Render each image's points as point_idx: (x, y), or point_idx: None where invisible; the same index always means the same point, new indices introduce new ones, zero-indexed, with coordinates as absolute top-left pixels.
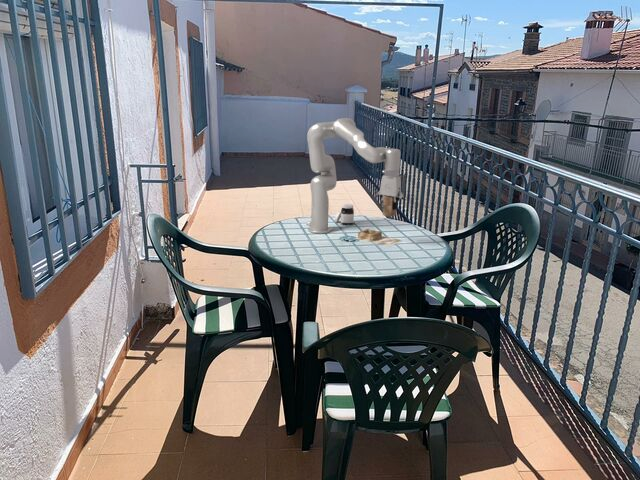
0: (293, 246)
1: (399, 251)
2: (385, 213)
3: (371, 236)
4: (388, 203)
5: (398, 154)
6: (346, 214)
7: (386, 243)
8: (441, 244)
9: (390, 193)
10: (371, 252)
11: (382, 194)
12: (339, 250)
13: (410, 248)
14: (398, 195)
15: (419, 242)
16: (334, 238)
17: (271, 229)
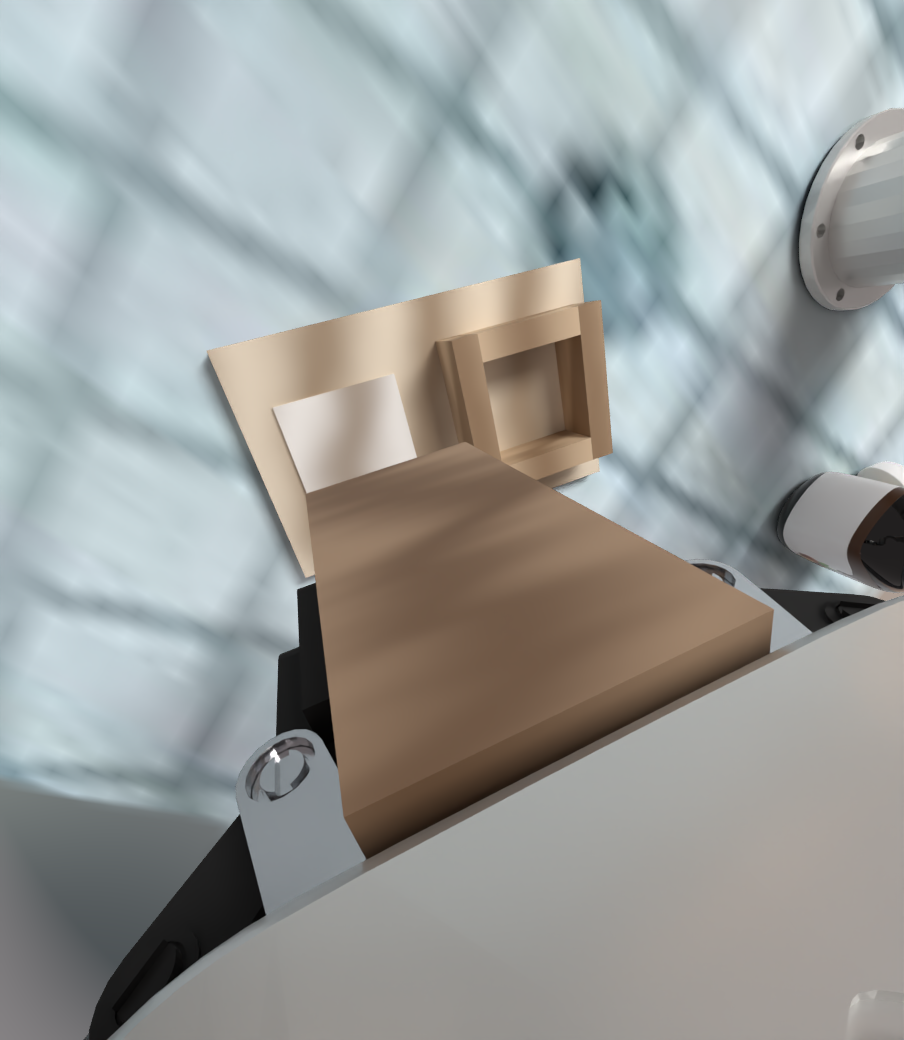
0: None
1: (49, 347)
2: (424, 467)
3: (459, 337)
4: (434, 572)
5: None
6: (876, 502)
7: (299, 389)
8: (111, 788)
9: (535, 1030)
10: (144, 19)
11: (898, 602)
12: None
13: (108, 513)
14: None
15: (240, 676)
16: (693, 144)
17: None
